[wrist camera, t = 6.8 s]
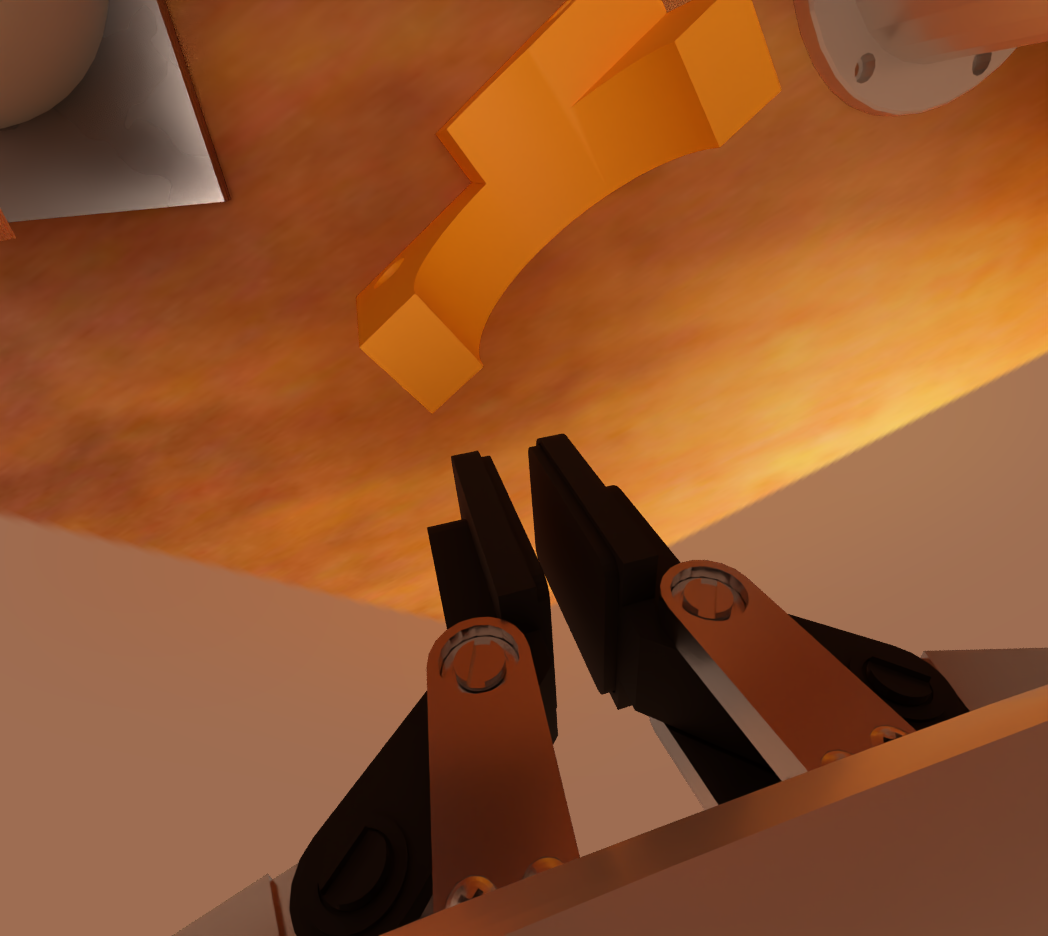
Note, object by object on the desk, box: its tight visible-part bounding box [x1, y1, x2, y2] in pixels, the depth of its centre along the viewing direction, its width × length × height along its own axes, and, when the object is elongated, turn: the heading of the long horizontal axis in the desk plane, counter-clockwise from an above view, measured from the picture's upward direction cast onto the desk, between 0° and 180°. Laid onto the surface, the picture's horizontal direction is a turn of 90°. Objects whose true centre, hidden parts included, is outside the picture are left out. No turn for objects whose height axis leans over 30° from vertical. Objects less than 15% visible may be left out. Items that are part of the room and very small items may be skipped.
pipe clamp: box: [356, 0, 781, 414], centre depth 15 cm, size 12×4×6 cm, turn 129°
